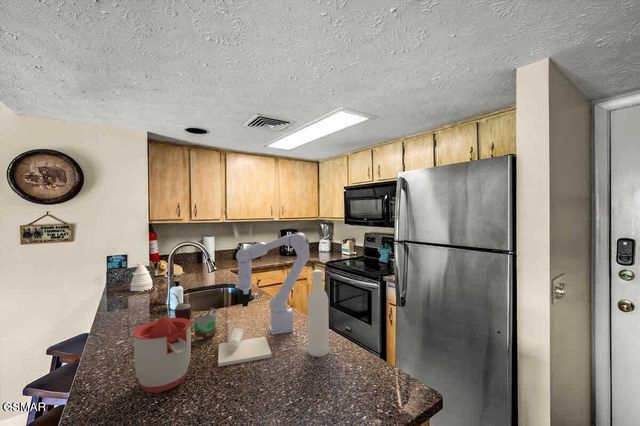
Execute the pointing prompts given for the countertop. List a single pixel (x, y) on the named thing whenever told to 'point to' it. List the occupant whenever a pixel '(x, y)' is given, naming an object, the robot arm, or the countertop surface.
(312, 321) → the bottle
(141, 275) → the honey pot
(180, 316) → the mate gourd
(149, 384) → the citrus juicer
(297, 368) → the countertop surface
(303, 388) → the countertop surface
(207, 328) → the food container
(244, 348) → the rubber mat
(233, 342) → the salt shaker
